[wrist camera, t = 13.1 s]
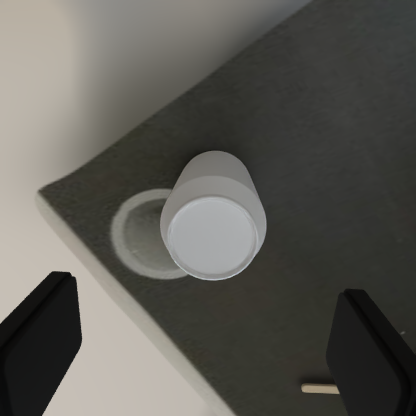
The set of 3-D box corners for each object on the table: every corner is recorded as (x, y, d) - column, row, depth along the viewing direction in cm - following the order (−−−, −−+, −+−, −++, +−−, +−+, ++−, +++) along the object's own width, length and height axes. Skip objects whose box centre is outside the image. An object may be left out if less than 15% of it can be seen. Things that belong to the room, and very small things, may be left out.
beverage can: (170, 161, 27) (135, 205, 16) (238, 138, 26) (252, 167, 15) (194, 223, 29) (177, 302, 18) (258, 204, 28) (284, 274, 17)
